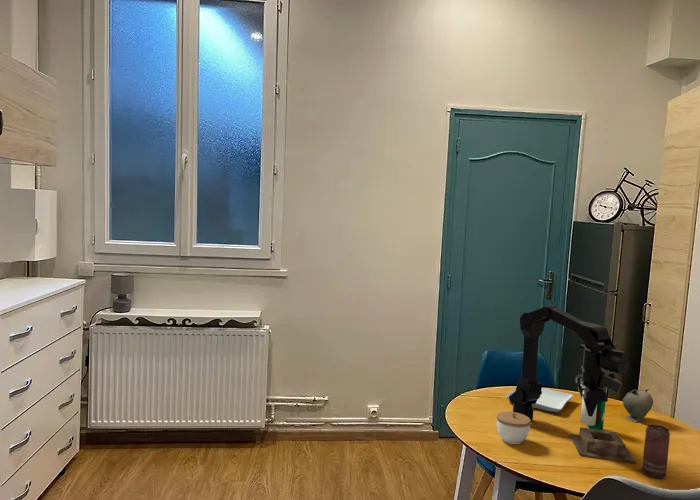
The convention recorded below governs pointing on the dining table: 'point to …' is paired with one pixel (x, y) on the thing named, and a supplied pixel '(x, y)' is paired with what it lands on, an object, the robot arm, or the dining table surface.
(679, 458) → the dining table surface
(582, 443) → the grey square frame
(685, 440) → the dining table surface
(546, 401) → the salad plate
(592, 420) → the cream peg
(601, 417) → the soda can
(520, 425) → the lidded jar
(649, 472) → the can
